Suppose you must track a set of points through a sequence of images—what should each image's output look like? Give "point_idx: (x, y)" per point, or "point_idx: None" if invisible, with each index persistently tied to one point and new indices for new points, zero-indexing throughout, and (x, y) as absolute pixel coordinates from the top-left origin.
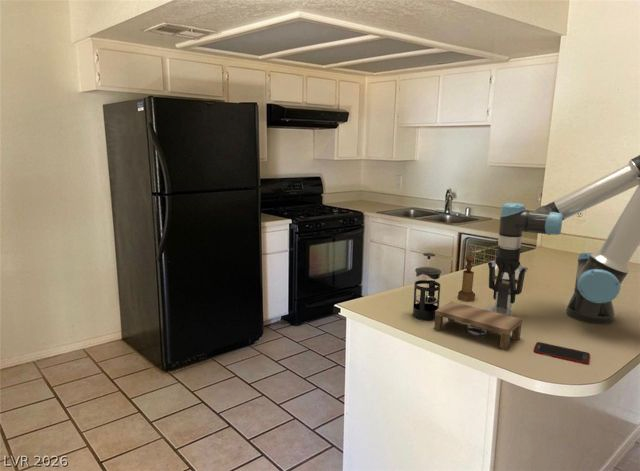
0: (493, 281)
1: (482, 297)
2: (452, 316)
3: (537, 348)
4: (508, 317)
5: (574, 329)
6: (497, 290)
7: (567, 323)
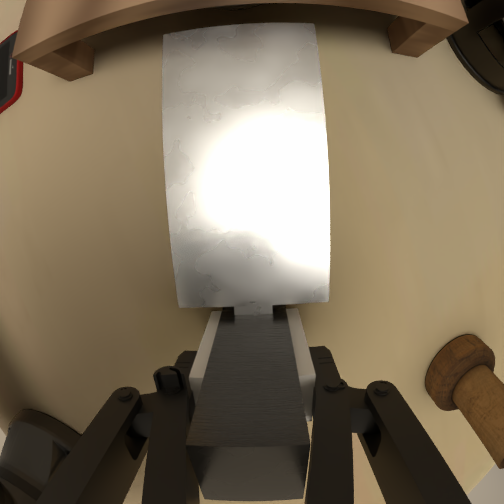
0: (378, 449)
1: None
2: None
3: (12, 51)
4: (66, 8)
5: (10, 333)
6: (314, 396)
7: (45, 375)
